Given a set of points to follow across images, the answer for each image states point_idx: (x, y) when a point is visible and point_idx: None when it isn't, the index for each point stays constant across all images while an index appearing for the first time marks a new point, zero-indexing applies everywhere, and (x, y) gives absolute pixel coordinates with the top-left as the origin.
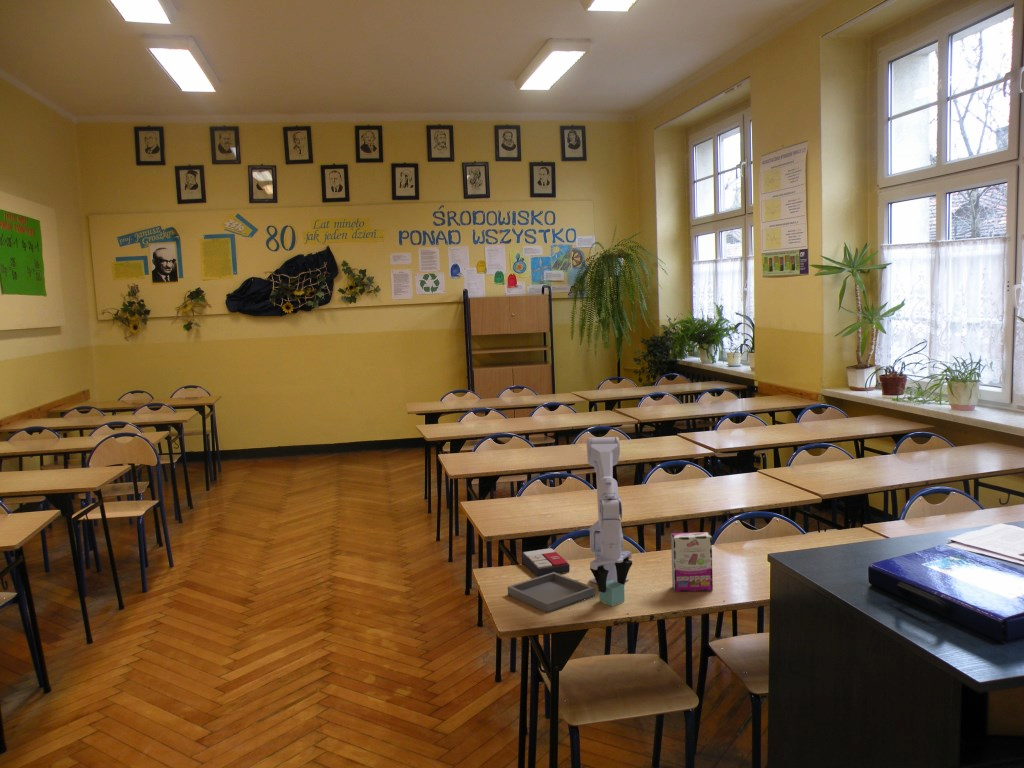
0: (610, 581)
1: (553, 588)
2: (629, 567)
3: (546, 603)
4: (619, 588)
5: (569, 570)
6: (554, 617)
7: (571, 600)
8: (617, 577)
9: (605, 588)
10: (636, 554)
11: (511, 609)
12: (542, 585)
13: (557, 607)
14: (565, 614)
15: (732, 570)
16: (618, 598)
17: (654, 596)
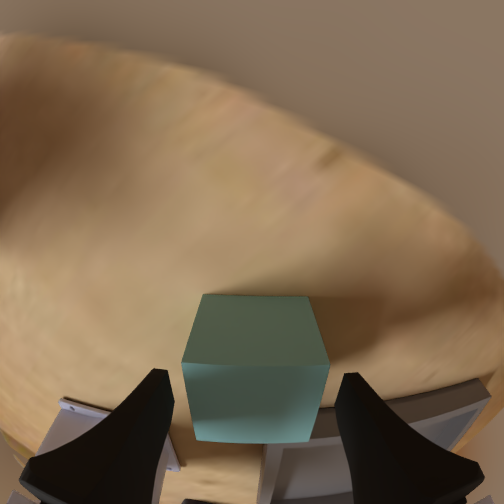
0: (217, 436)
1: (319, 480)
2: (66, 453)
3: (486, 402)
4: (239, 354)
5: (185, 501)
6: (497, 344)
7: (400, 410)
8: (165, 437)
9: (359, 389)
10: (5, 429)
11: (474, 424)
12: (319, 493)
13: (451, 391)
14: (473, 345)
15: None
16: (253, 313)
17: (43, 230)
